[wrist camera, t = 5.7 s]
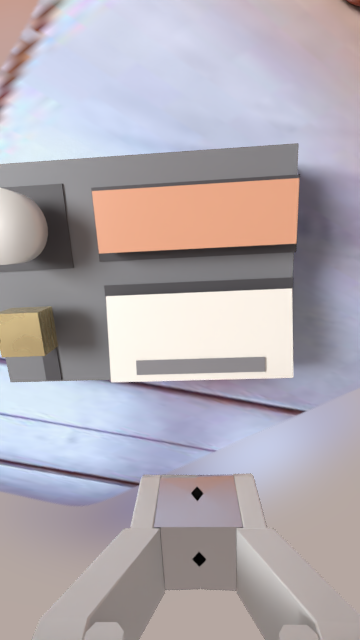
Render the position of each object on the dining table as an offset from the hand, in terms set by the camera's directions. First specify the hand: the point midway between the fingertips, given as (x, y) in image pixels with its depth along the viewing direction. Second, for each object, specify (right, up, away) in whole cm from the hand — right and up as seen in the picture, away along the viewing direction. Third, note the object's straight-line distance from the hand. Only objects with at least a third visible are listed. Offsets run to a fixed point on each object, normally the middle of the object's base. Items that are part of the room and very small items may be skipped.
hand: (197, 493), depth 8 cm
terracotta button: (0, +10, +8) cm, 13 cm away
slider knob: (-9, +5, +10) cm, 14 cm away
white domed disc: (-9, +10, +7) cm, 15 cm away
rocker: (+1, +4, +9) cm, 10 cm away
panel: (-3, +8, +13) cm, 16 cm away
